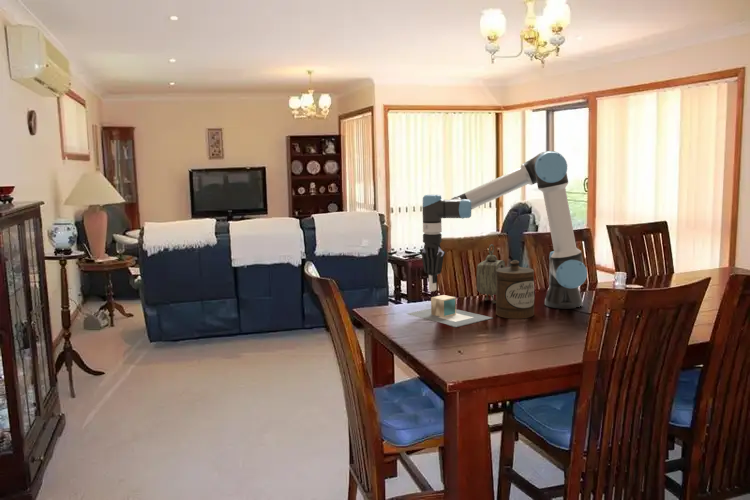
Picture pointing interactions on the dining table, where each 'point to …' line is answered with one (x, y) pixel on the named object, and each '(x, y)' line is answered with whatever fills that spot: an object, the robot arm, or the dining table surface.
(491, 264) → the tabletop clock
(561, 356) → the dining table surface
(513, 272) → the wooden container
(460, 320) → the mat
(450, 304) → the birch cube
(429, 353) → the dining table surface
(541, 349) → the dining table surface
